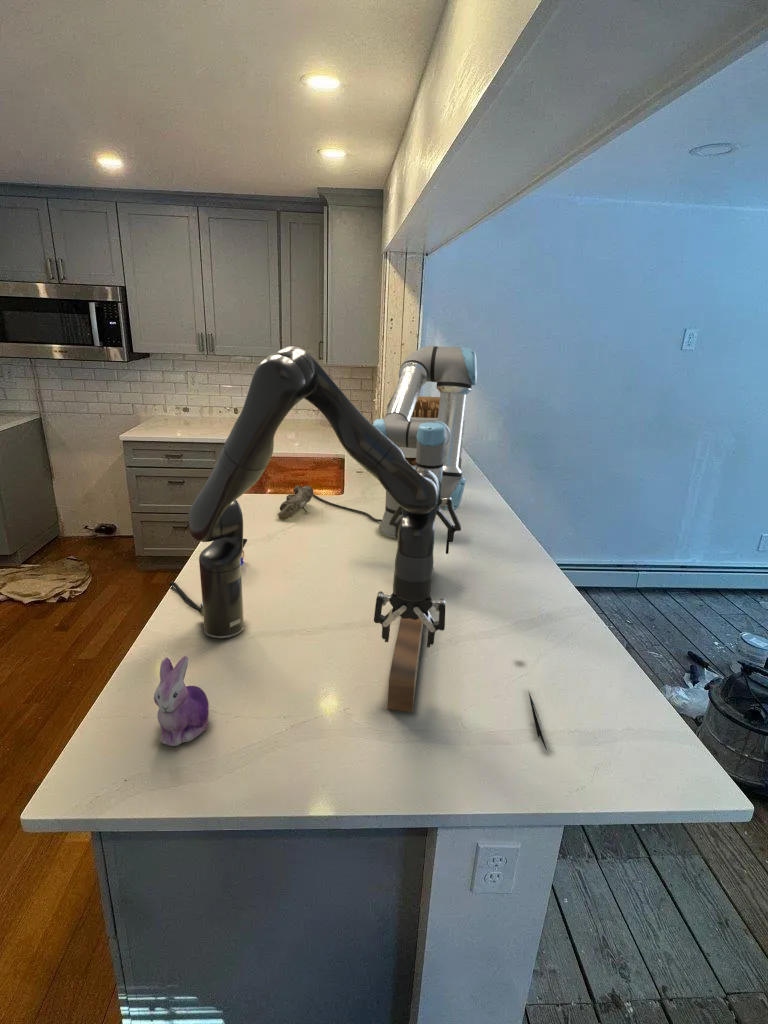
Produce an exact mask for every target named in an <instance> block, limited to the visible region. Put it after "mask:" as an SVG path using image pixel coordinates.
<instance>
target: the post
mask: <svg viewBox="0 0 768 1024" xmlns="http://www.w3.org/2000/svg"><path fill="white" fill-rule="evenodd" d="M423 630H424V624H423V622H422V621H421V619H420V618H419V619H417V620H413V619H410V618H407V619H404V618H402V617H400V621H399V626H398V630H397V636H396V641H395V645H394V651H393V654H392V655H393V656H392V659H391V660H392V661H391V666H390V671H389V676H388V689H387V691H388V692H387V707H386V708H387V710H392V711H400V712H408V713H413V710H414V702H415V694H416V685H417V680H418V679H417V678H418V669H419V663H420V661H419V660H420V653H421V645H422V638H423Z"/></svg>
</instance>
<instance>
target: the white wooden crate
mask: <svg viewBox="0 0 768 1024" xmlns="http://www.w3.org/2000/svg"><path fill="white" fill-rule="evenodd" d="M392 397H393V395H391V398H390V400H389V402H388V404H387V405H386V413H387V410H388V408H389V405H390V402H391V400H392ZM439 402H440V396H418V399H417V402H416V405H415V408H414V411H413V414H412V417H411V420H410V422H420V423H429V422H431V423H432V422H435V421H438V411H439ZM386 413H385V414H386ZM464 429H465V419H464V418H463V427H462V436H461V446H460V455H459V464H458V467H459V469H460V470H461V471H462V461H463V460H462V453H463V442H464V441H463V440H462V439H463V438H464V431H465V430H464ZM399 448H400V450H401V451H402V452H403V454H404V457H405V460H406V461H407V462H408V463H409V464H410V465H411V466H412V467H415V465H416V451H417V449H415V448H405V447H399Z"/></svg>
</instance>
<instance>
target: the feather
mask: <svg viewBox="0 0 768 1024" xmlns="http://www.w3.org/2000/svg"><path fill="white" fill-rule="evenodd" d="M528 696H529V701H530V706H531V712H532V716H533V717H532V718H533V722H534V726H535V729H536V734H537V738H540V739H541V743H542V744H543V747H544V748H545V750H546V751H547V750H548V749H547V746H546V742H545V739H544V736H543V733H542V731H544V728H543V727H544V725H543V723H542V721H541V718H540V717H539V713H538V711H537V709H536V706H535V703H534V701H533V698H532V696H531V693H530V691H529V689H528ZM541 728H542V729H541ZM545 738H548V737H547V735H545ZM538 740H539V739H538Z"/></svg>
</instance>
